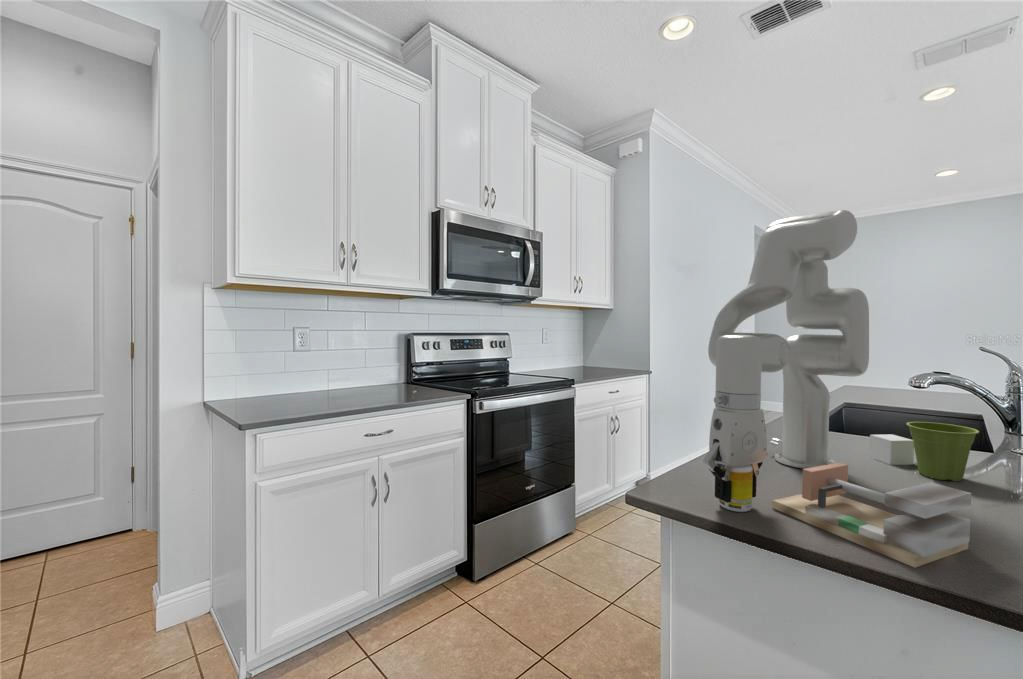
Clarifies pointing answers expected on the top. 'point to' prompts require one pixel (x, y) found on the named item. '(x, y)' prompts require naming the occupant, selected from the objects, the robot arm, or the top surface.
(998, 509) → the top surface
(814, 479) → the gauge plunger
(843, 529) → the frame
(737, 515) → the top surface
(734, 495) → the supplement bottle
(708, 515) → the top surface
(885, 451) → the white cube
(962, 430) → the plant pot
